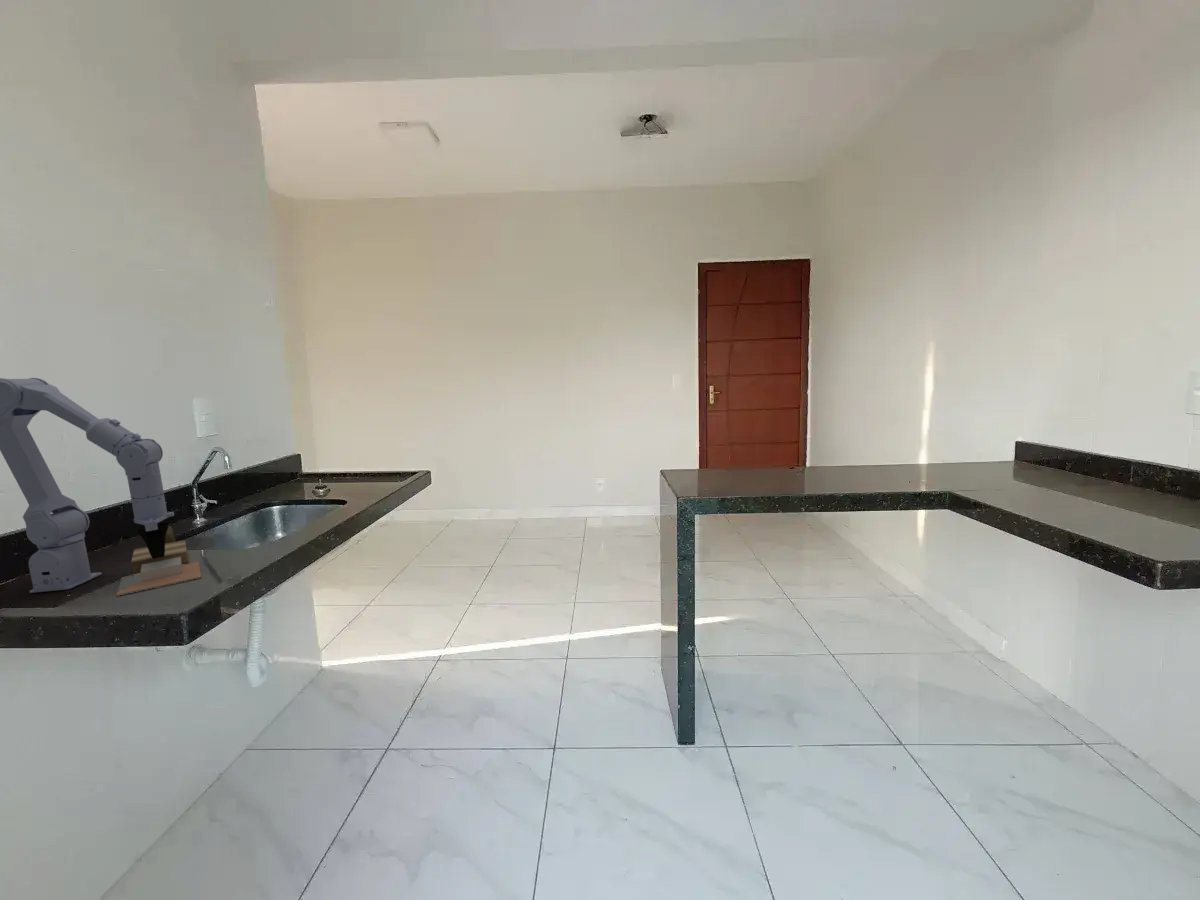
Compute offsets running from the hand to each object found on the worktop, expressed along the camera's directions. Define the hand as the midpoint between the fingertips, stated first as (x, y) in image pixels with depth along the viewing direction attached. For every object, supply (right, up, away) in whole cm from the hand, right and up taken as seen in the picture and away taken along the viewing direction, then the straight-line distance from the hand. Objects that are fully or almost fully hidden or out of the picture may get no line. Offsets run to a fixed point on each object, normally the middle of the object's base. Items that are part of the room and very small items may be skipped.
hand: (158, 557), depth 131 cm
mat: (+3, -4, -4) cm, 6 cm away
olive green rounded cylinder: (-19, +1, +26) cm, 32 cm away
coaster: (+2, -3, -1) cm, 4 cm away
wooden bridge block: (-6, -3, +9) cm, 11 cm away
